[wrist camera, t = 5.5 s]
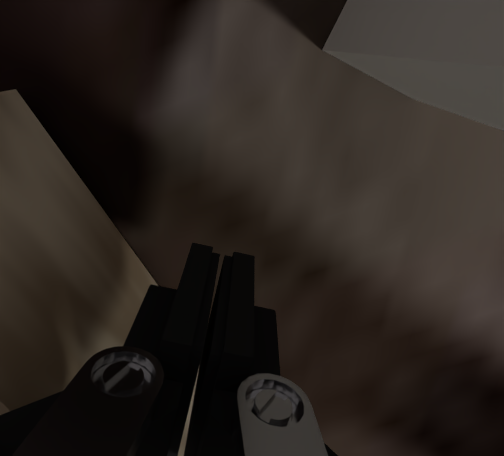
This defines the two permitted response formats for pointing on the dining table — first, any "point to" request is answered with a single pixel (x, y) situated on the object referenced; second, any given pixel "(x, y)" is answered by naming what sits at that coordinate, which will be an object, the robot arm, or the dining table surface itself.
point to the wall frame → (429, 51)
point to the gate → (56, 267)
